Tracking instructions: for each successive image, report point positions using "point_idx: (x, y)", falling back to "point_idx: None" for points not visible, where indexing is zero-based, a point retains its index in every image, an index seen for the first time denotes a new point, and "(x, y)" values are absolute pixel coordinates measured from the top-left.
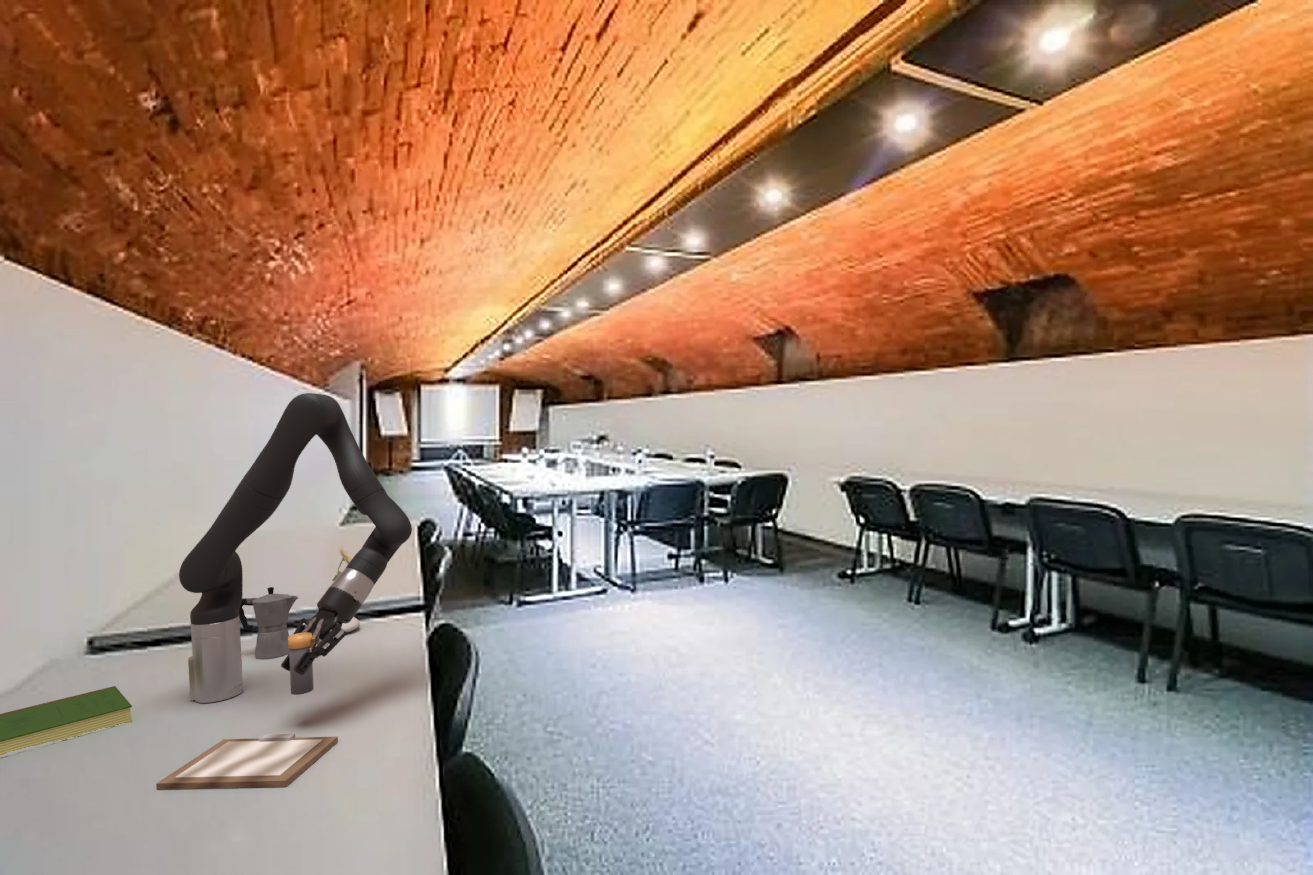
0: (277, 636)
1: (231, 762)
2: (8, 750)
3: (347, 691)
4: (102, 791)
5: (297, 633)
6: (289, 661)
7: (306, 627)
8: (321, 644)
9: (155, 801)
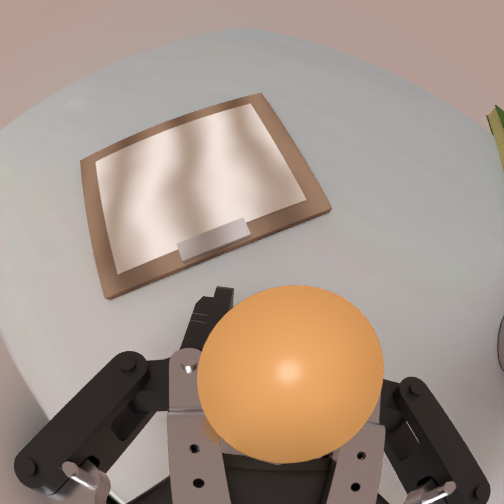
0: None
1: (208, 151)
2: (497, 132)
3: None
4: (325, 85)
5: (371, 404)
6: None
7: (375, 485)
8: (97, 379)
9: (228, 87)
